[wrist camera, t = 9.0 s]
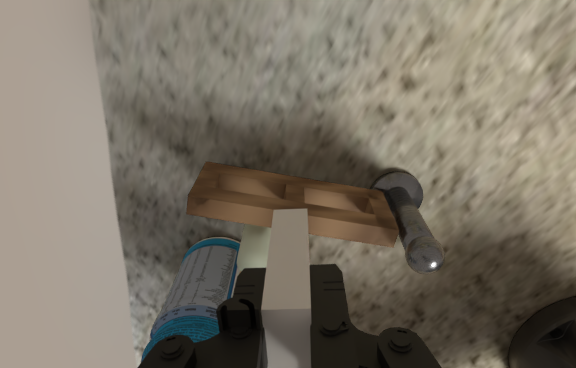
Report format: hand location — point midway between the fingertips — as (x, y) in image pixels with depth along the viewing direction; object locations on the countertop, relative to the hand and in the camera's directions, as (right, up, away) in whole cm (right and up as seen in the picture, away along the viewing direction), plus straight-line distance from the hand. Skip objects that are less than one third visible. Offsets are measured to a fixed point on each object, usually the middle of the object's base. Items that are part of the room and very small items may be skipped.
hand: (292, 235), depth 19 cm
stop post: (-3, 0, +22) cm, 22 cm away
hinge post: (+10, +1, +22) cm, 24 cm away
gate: (0, +2, +20) cm, 20 cm away
